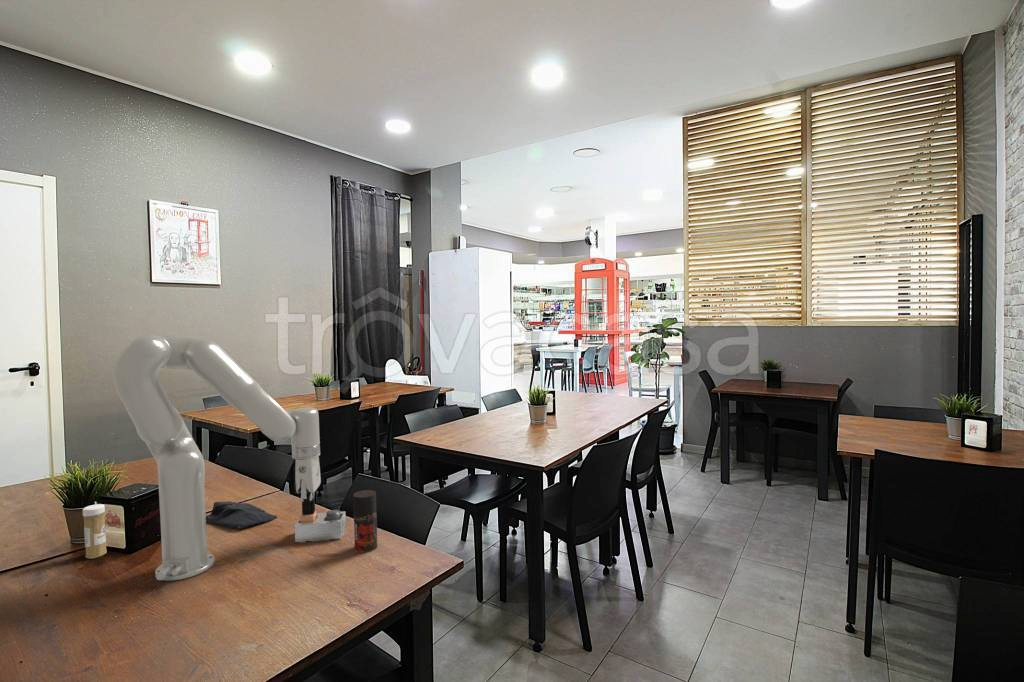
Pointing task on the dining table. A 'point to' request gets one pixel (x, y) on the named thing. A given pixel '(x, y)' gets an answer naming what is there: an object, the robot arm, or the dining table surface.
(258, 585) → the dining table surface
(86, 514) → the sprinkles bottle
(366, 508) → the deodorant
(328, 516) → the knob round
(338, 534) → the mount
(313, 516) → the button square
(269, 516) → the dark slate chunk
